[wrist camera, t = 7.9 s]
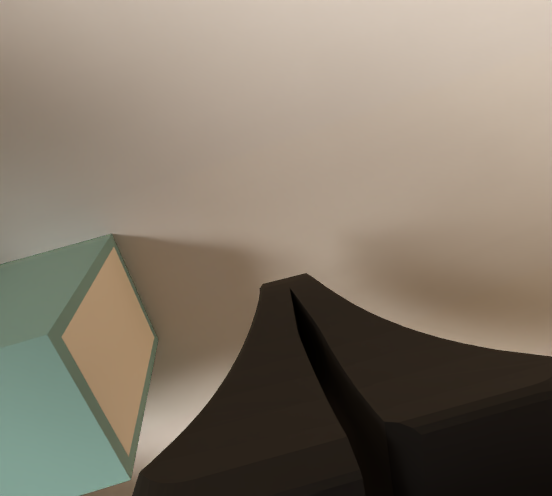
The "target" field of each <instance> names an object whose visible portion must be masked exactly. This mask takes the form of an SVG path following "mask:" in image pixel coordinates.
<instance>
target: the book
mask: <svg viewBox="0 0 552 496" xmlns="http://www.w3.org/2000/svg"><path fill="white" fill-rule="evenodd" d="M157 344H158V338H157V336H156V334H155V331H154V329H153V327H152V325H151V322H150V320H149V318H148V315H147V313H146V311H145V309H144V306H143V304H142V302H141V300H140V297H139V295H138V293H137V290H136V288H135V286H134V284H133V281H132V279H131V277H130V275H129V272H128V270H127V268H126V265H125V263H124V261H123V259H122V256H121V254H120V252H119V249H118V247H117V245H116V243H115V240H114V238H113V236H112V234H109V235H105V236H102V237H98V238H95V239H91V240H87V241H84V242H80V243H76V244H73V245H69V246H66V247H62V248H58V249H55V250H51V251H48V252H44V253H40V254H37V255H33V256H29V257H26V258H22V259H19V260H15V261H11V262H8V263H4V264H0V496H80V495H84V494H87V493H90V492H93V491H97V490H100V489H103V488H106V487H110V486H113V485H116V484H120V483H123V482H126V481H129V480H131V477H132V471H133V466H134V461H135V456H136V451H137V446H138V441H139V436H140V431H141V426H142V421H143V415H144V410H145V405H146V400H147V395H148V390H149V385H150V380H151V375H152V370H153V364H154V359H155V354H156V349H157Z"/></svg>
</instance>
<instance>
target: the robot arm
mask: <svg viewBox="0 0 552 496" xmlns="http://www.w3.org/2000/svg"><path fill="white" fill-rule="evenodd" d="M132 496H552V357H550V356H542V355H534V354H526V353H518V352H510V351H502V350H495V349H489V348H484V347H479V346H474V345H468V344H463V343H459V342H455V341H450V340H446V339H442V338H439V337H435V336H432V335H428V334H425V333H421V332H418V331H415V330H412V329H409V328H406V327H403V326H401V325H398V324H396V323H393V322H391V321H388V320H385V319H383V318H381V317H378V316H376V315H374V314H372V313H370V312H368V311H366V310H364V309H362V308H360V307H358V306H356V305H354V304H352V303H351V302H349V301H347V300H346V299H344V298H343V297H341V296H339V295H338V294H336V293H335V292H333V291H332V290H330V289H329V288H327V287H326V286H324V285H323V284H321V283H320V282H319V281H317V280H316V279H314V278H313V277H312V276H310V275H308V274H307V273H305V274H301V275H297V276H293V277H289V278H285V279H281V280H277V281H273V282H269V283H265V284H263V285H262V286H261V288H260V295H259V301H258V305H257V309H256V313H255V316H254V319H253V322H252V325H251V328H250V330H249V333H248V335H247V337H246V340H245V342H244V345H243V347H242V349H241V351H240V353H239V355H238V357H237V359H236V361H235V363H234V364H233V366H232V368H231V370H230V371H229V373H228V375H227V376H226V378H225V379H224V381H223V382H222V384H221V385H220V387H219V388H218V390H217V391H216V393H215V394H214V396H213V397H212V398H211V400H210V401H209V402H208V404H207V405H206V406H205V407H204V408H203V410H202V411H201V412H200V413H199V414H198V415H197V417H196V418H195V419H194V420H193V421H192V422H191V423H190V424H189V425H188V427H187V428H186V429H185V430H184V431H183V432H182V433H181V434H180V435H179V436H178V437H177V438H176V439H175V440H174V441H173V442H172V443H171V444H170V445H169V446H168V447H166V448H165V449H164V450H163V451H162V452H161V453H160V454H159V455H158V456H157V457H156V458H155V459H154V460H153V461H152V462H151V463H150V464H148V465H147V466H146V467H145V468H144V469H143V470H142V471H141V472H140V473H139V476H138V479H137V482H136V485H135V488H134V492H133V495H132Z"/></svg>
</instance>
